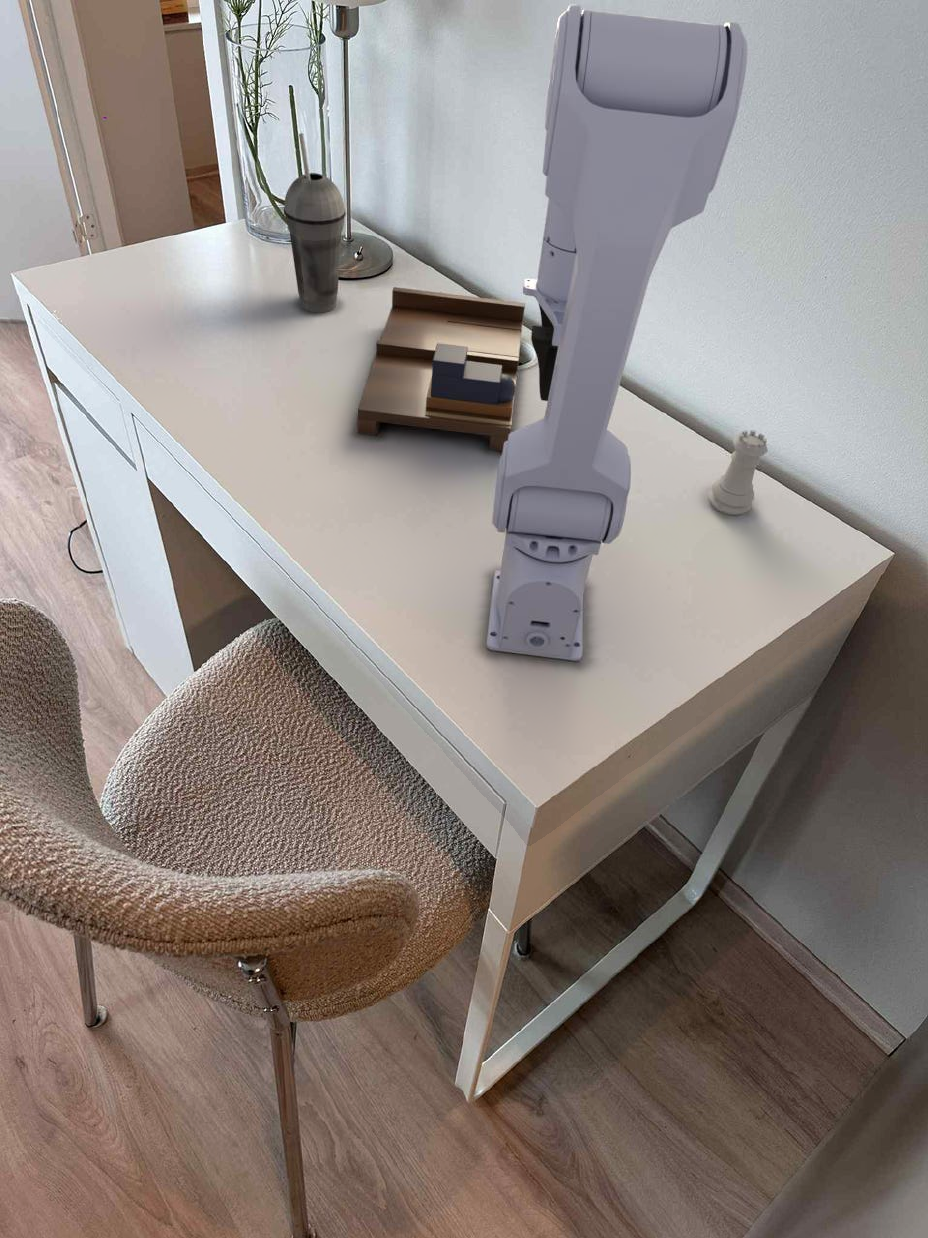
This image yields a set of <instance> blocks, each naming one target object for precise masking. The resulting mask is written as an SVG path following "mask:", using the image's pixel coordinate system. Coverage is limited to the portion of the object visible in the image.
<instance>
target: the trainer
mask: <svg viewBox="0 0 928 1238" xmlns="http://www.w3.org/2000/svg"><path fill="white" fill-rule="evenodd" d="M467 349H468V347H465V346H457V345H449V344H441V343H437V346H436V350H435V354H434V358H433V367H432V378H431V381H430V385H429V389H428V394H427V399H426V407H429V408H437V409H445V410H453V411H461V412H469V413H477V414H485V415H493V416H501V417H509V418H511V416H512V417H513V415H512V409H513V410H514V406H513V400H514V401H515V397H514V395H515V396H516V390H517V385H516V386H515V383H514V381H513V379H512V378H511V377H510V376H508V375H506V374H502V365H496V364H488V363H480V362H472V361H466V360H467Z"/></svg>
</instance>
